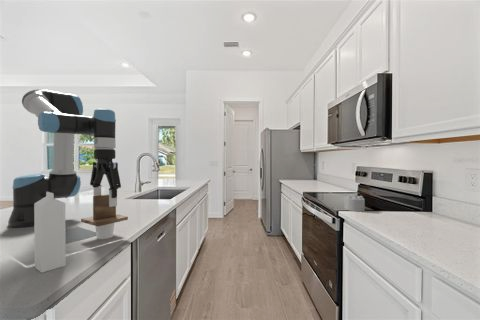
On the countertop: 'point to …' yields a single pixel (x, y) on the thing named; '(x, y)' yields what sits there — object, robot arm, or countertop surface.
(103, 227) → the white grey-rimmed cup
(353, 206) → the lumpy-topped squat cylinder
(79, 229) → the mat
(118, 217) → the board
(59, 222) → the milk
